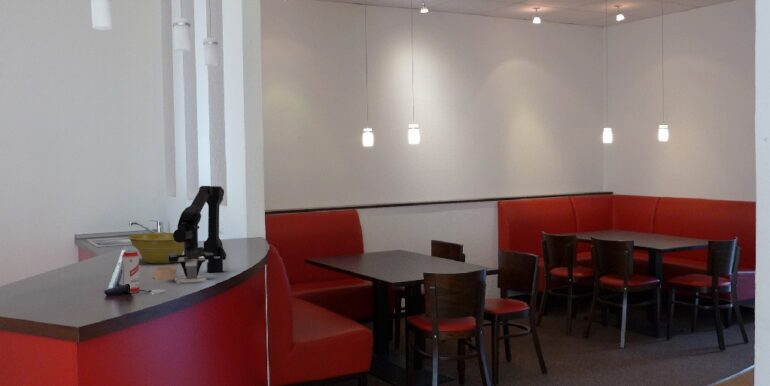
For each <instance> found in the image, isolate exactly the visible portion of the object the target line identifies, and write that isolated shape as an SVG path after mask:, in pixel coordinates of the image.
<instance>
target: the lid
mask: <svg viewBox="0 0 770 386" xmlns="http://www.w3.org/2000/svg"><path fill="white" fill-rule="evenodd" d="M186 272H187V277H185V275H184V276H179V277H176V278H177V281H178V282H193V283H200V282H199V281H204V280H206V278H207V277H206V276H202V275H198V276H197V267H196V265H186Z"/></svg>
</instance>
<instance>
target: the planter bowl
mask: <svg viewBox="0 0 770 386" xmlns="http://www.w3.org/2000/svg"><path fill="white" fill-rule="evenodd" d="M173 234H174V232H151V233H138V234H133V235H129V236H127V238H128V239H129V240H130V243H131V245H132V246H133V248H136V249H137V250H138V251H137V252H138V254H139V255H140V257H141V258H142V260H144V261H145V262H146V263H148V264H171V263H175V262H177V261H168V254H169V253H178V255H183V254H184V242H181V243H178V242H176V241H175V240H174V238H173Z"/></svg>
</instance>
